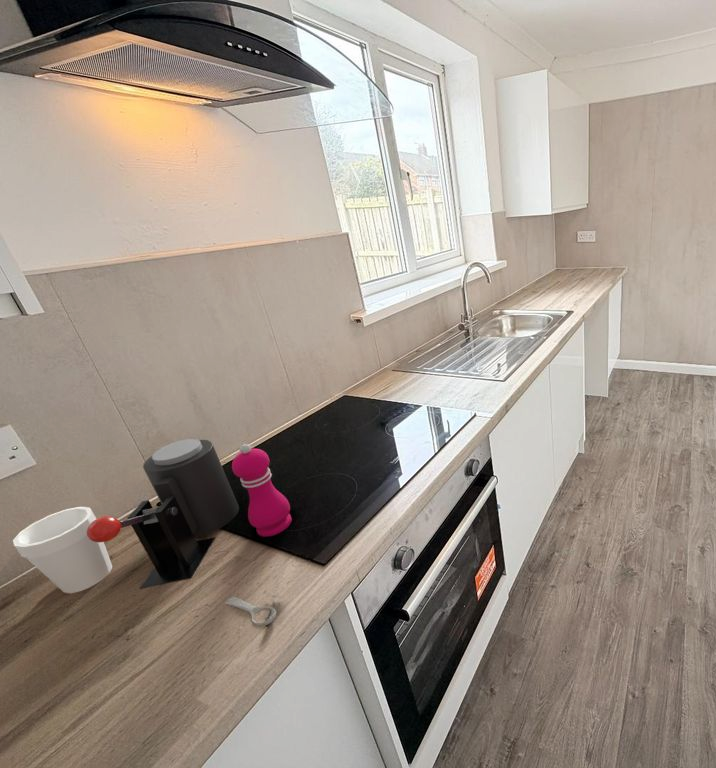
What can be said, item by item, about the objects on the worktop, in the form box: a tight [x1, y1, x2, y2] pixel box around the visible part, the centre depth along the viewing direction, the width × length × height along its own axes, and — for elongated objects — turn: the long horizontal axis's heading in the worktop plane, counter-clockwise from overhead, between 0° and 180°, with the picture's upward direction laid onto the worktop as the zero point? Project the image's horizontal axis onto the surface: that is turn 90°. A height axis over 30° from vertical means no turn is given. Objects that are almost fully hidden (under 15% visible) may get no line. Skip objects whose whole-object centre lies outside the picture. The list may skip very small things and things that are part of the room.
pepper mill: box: [231, 443, 293, 538], centre depth 79 cm, size 7×7×20 cm
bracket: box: [126, 496, 217, 590], centre depth 73 cm, size 10×8×14 cm
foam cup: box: [12, 506, 113, 594], centre depth 72 cm, size 10×9×13 cm
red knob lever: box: [87, 505, 161, 543], centre depth 66 cm, size 14×4×4 cm, turn 13°
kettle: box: [142, 438, 240, 539], centre depth 83 cm, size 16×11×18 cm
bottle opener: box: [225, 596, 277, 626], centre depth 66 cm, size 3×12×2 cm, turn 67°
